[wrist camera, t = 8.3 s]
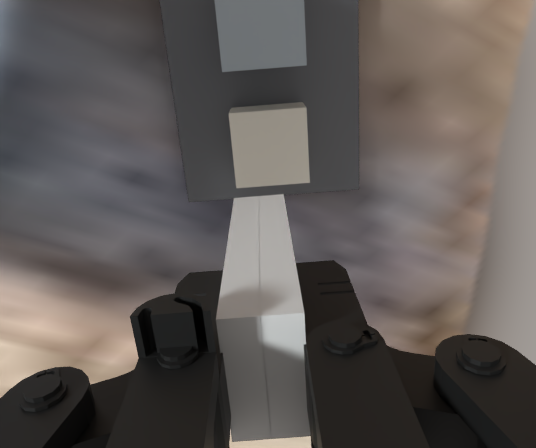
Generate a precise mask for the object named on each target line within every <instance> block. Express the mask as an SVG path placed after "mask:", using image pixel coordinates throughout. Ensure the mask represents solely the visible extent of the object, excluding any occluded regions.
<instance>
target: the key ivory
mask: <svg viewBox="0 0 536 448" xmlns="http://www.w3.org/2000/svg"><path fill="white" fill-rule="evenodd" d="M229 123H230V132H231V142H232V152H233V161H234V171H235V180H236V188H247V187H261V186H274V185H287V184H300V183H310V175H309V153H308V130H307V108H306V106H305V105H304V103H303V102H296V103H283V104H271V105H258V106H245V107H233V108H231V109H230V112H229Z"/></svg>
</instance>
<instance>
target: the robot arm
mask: <svg viewBox="0 0 536 448" xmlns="http://www.w3.org/2000/svg"><path fill="white" fill-rule="evenodd" d="M130 319H131V324H132V328H133V333H134V338H135V342H136V347H137V352H138V356H139V359H138V362H137V364H136V367H135V369H134V370H132V371H131V372H129V373H126V374H124V375H121V376H118V377H115V378H112V379H109V380H105V381H102V382H98V383H95V384H91V385H90V382H89V378H88V376H87V375H86V374H85V373H84V372H83V371H82V370H80V369H76V368H73V367H55V368H51V369H48V370H43V371H40V372H38V373H36V374H34V375H32V376H30V377H27V378H25V379H23V380H22V381H20V382H19V383H18V384H17V385H15V386H14V387H13V388H11V389H10V390H9V391H8V392H7V393H6V394H5V395H4V396H3V397H1V398H0V448H229V439H230V428H231V436H232V442H236V441H249V440H263V439H276V438H290V437H303V436H311V447H312V448H536V365H535V364H533V363H532V362H531V361H530V360H528V359H527V358H526V357H524V356H523V355H522V354H521V353H519V352H518V351H517V350H515V349H514V348H512V347H510V346H508V345H507V344H505V343H503V342H501V341H498V340H495V339H492V338H489V337H486V336H479V335H471V334H467V335H457V336H452V337H450V338H447V339H445V340H443V341H442V342H441V343H440V344H439V345H438V346H437V348H436V353H435V356H428V355H421V354H414V353H409V352H404V351H399V350H397V349H394V348H391V347H389V346H387V345H386V343H385V341H384V339H383V337H382V336H381V335H380V334H379V332H378V331H377V330H375V329H374V328H372V327H370V326H368V325H367V322H366V319H365V317H364V314H363V312H362V309H361V307H360V304H359V302H358V299H357V297H356V294H355V293H354V289H353V286H352V284H351V283H350V279H349V276H348V274H347V271H346V269H345V268H343V267H342V266H341V265H339V264H338V263H336V262H335V261H334V260H332V261H319V262H306V263H296V262H295V256H294V251H293V245H292V239H291V234H290V228H289V222H288V217H287V211H286V205H285V199H284V194H280V195H267V196H254V197H241V198H234V201H233V208H232V215H231V221H230V228H229V235H228V242H227V248H226V255H225V262H224V268H223V270H221V271H208V272H195V273H189V274H188V275H187V276H186V277H185V278H184V279H183V280H181V281H180V282H179V283H178V285H177V288H176V291H175V294H169V295H163V296H160V297H157V298H155V299H152V300H149V301H147V302H146V303H144V304H142V305H141V306H139V307H138V308H136V310H135V311H134V312H133V314H132V315H131V316H130Z"/></svg>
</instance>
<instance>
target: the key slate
mask: <svg viewBox="0 0 536 448" xmlns="http://www.w3.org/2000/svg"><path fill="white" fill-rule="evenodd" d="M215 10H216V19H217V28H218V38H219V47H220V57H221V66H222V72H230V71H242V70H255V69H267V68H280V67H292V66H304V65H307V58H306V34H305V11H304V0H215Z"/></svg>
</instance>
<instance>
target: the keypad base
mask: <svg viewBox="0 0 536 448" xmlns="http://www.w3.org/2000/svg"><path fill="white" fill-rule="evenodd" d="M159 1H160V8H161V14H162V21H163V28H164V35H165V42H166V49H167V56H168V63H169V70H170V76H171V83H172V90H173V97H174V104H175V111H176V118H177V125H178V132H179V139H180V145H181V152H182V159H183V166H184V173H185V180H186V187H187V194H188V201H189V202H199V201H212V200H225V199H234V198H241V197H254V196H267V195H280V194H284V195H291V194H304V193H317V192H330V191H343V190H357V189H359V55H358V0H304V11H305V34H306V58H307V65H304V66H292V67H280V68H267V69H255V70H242V71H230V72H222V66H221V57H220V47H219V38H218V28H217V19H216V10H215V0H159ZM296 102H303V103H304V105H305V106H306V108H307V130H308V153H309V175H310V183H300V184H287V185H274V186H261V187H247V188H236V180H235V171H234V161H233V152H232V142H231V132H230V123H229V112H230V109H231V108H233V107H245V106H258V105H271V104H283V103H296Z"/></svg>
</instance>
